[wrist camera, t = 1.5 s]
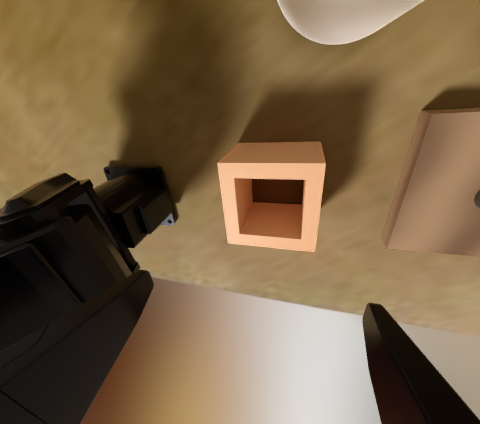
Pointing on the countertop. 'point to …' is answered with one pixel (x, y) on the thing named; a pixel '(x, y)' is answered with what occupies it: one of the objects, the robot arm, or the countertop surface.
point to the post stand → (439, 186)
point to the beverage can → (342, 17)
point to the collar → (272, 214)
